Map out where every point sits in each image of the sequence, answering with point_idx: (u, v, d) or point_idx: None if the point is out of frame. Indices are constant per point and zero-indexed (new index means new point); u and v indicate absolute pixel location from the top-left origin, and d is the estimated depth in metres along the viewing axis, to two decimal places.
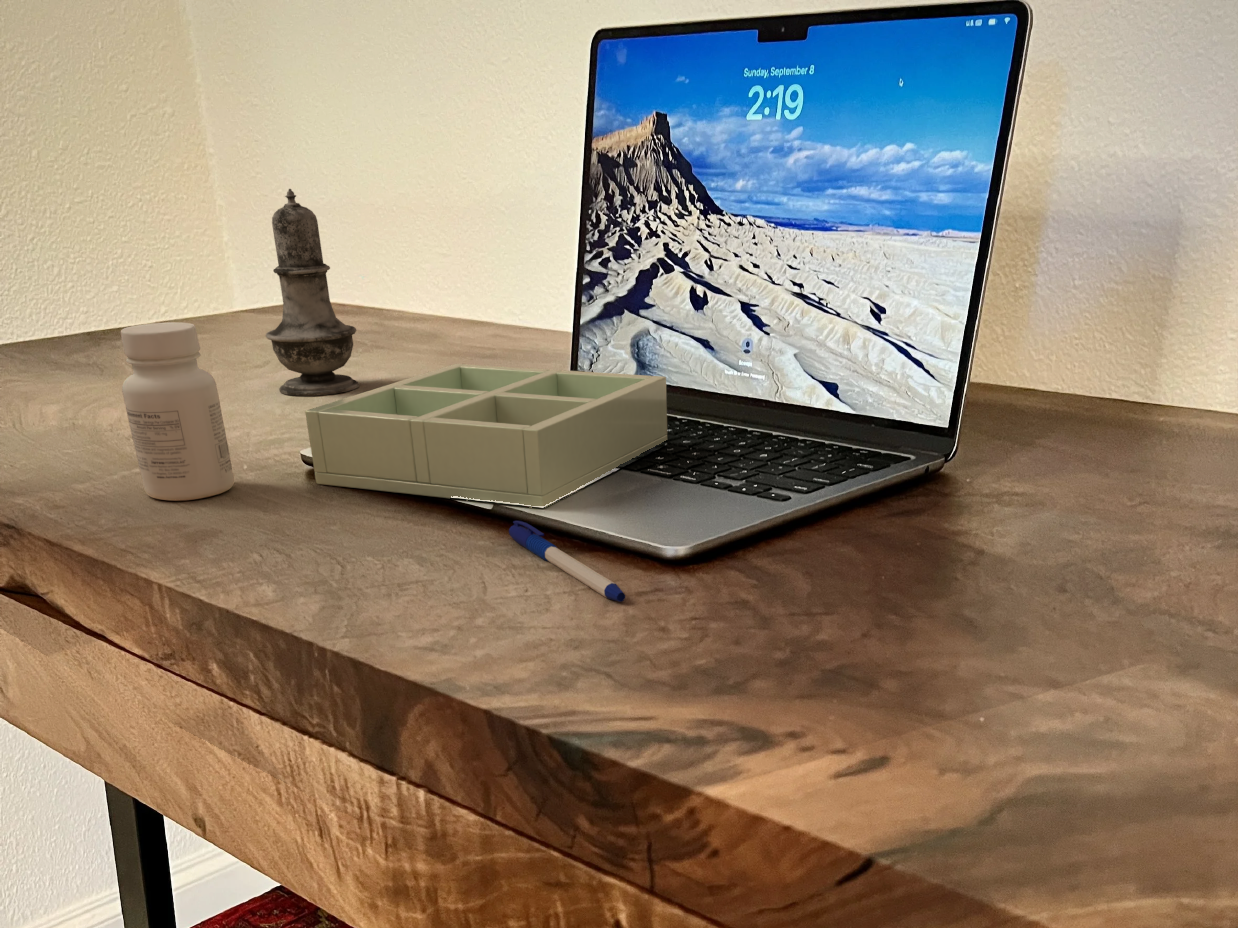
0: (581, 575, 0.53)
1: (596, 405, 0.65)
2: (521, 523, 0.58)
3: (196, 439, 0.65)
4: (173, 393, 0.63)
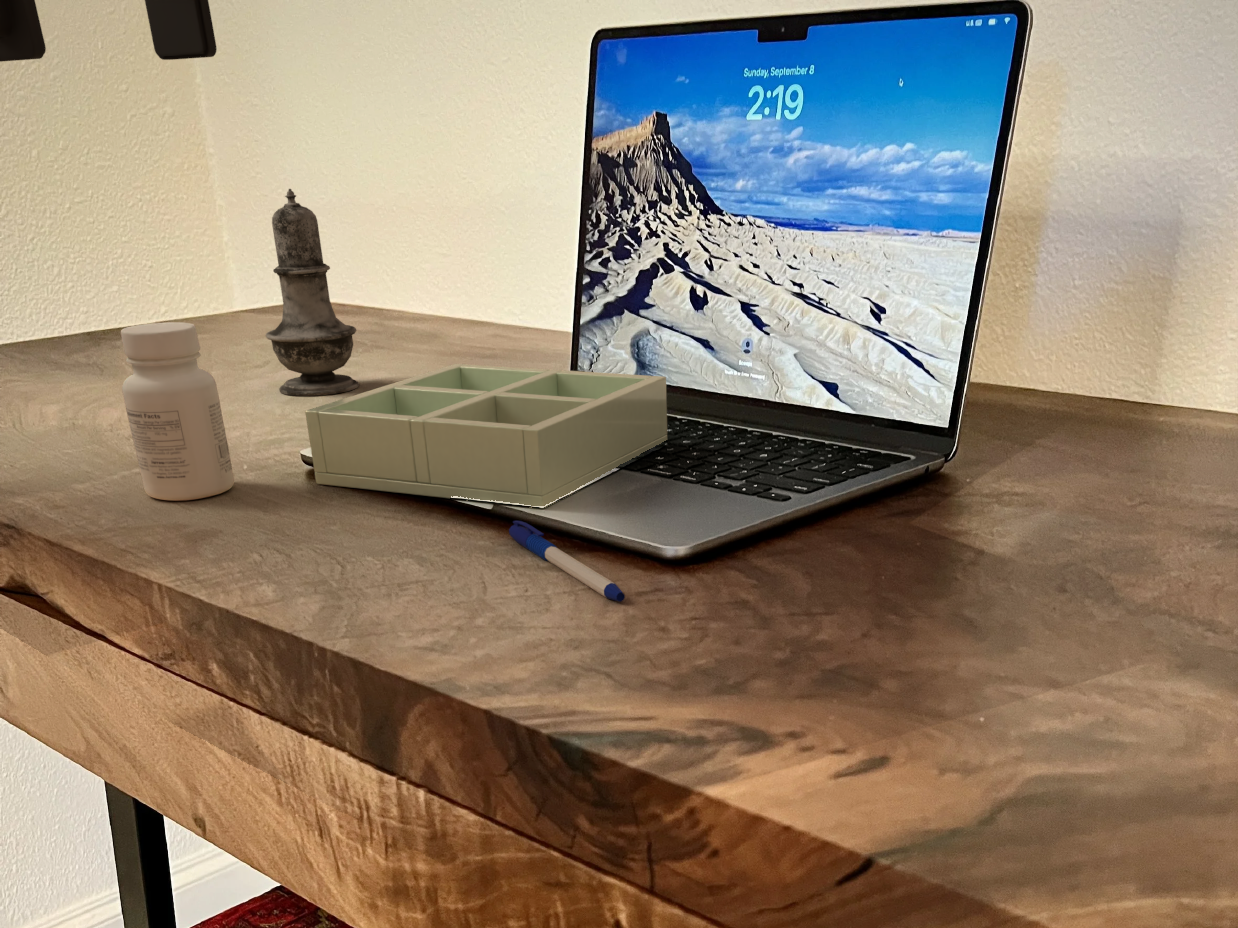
0: (581, 575, 0.53)
1: (596, 405, 0.65)
2: (521, 523, 0.58)
3: (196, 439, 0.65)
4: (173, 393, 0.63)
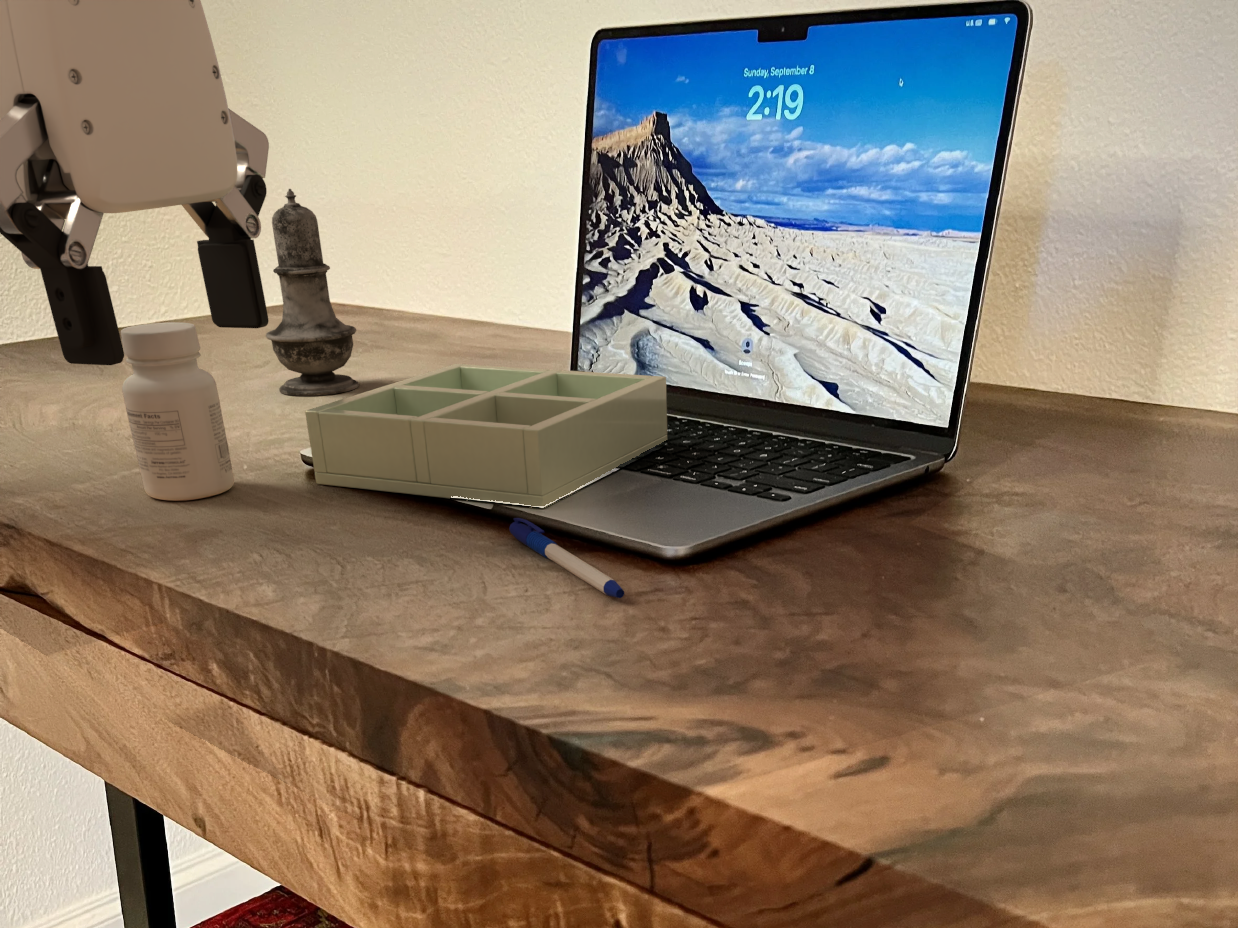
0: (580, 571, 0.53)
1: (596, 405, 0.65)
2: (521, 520, 0.58)
3: (196, 439, 0.65)
4: (173, 393, 0.63)
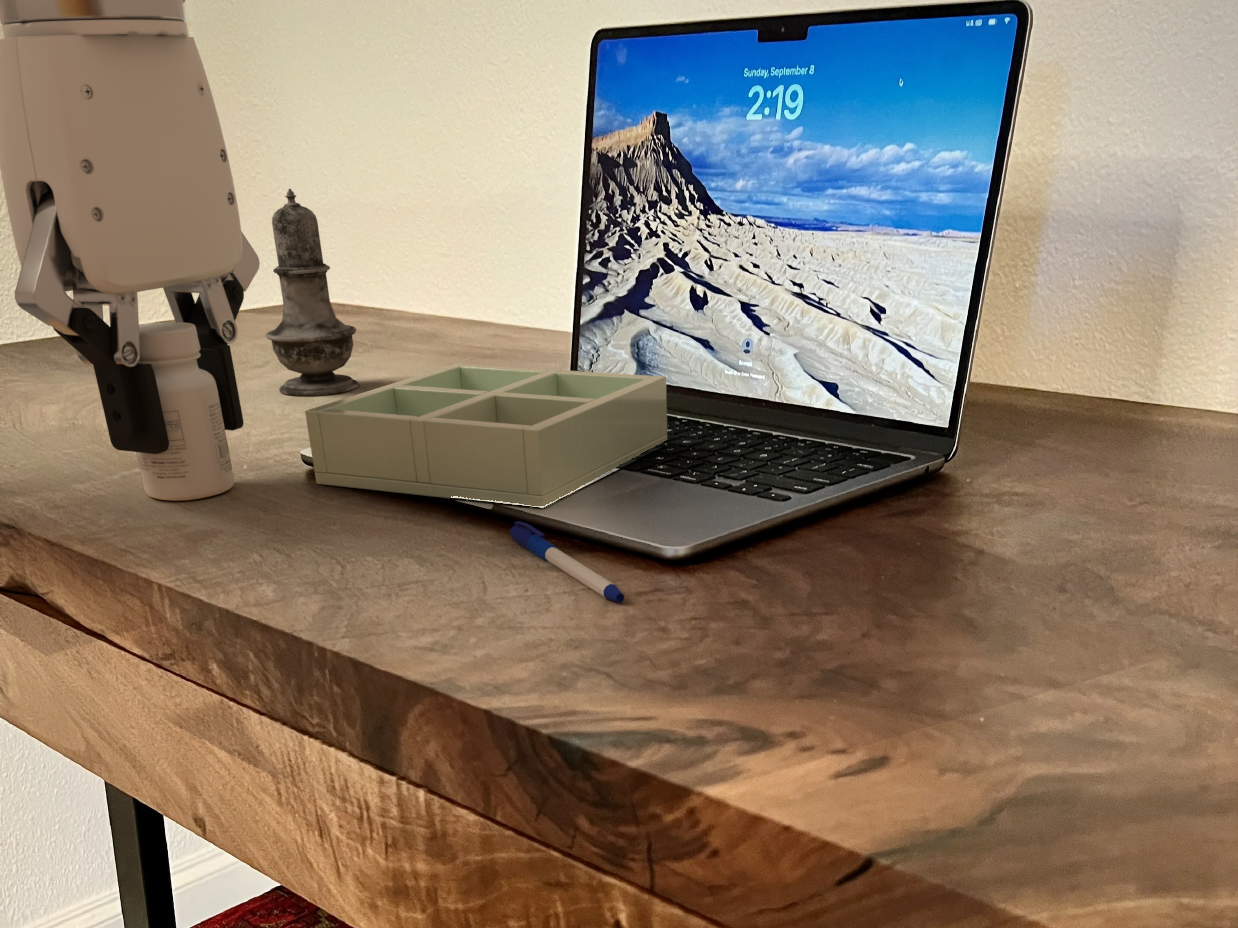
0: (581, 575, 0.53)
1: (596, 405, 0.65)
2: (522, 524, 0.58)
3: (196, 439, 0.65)
4: (173, 393, 0.63)
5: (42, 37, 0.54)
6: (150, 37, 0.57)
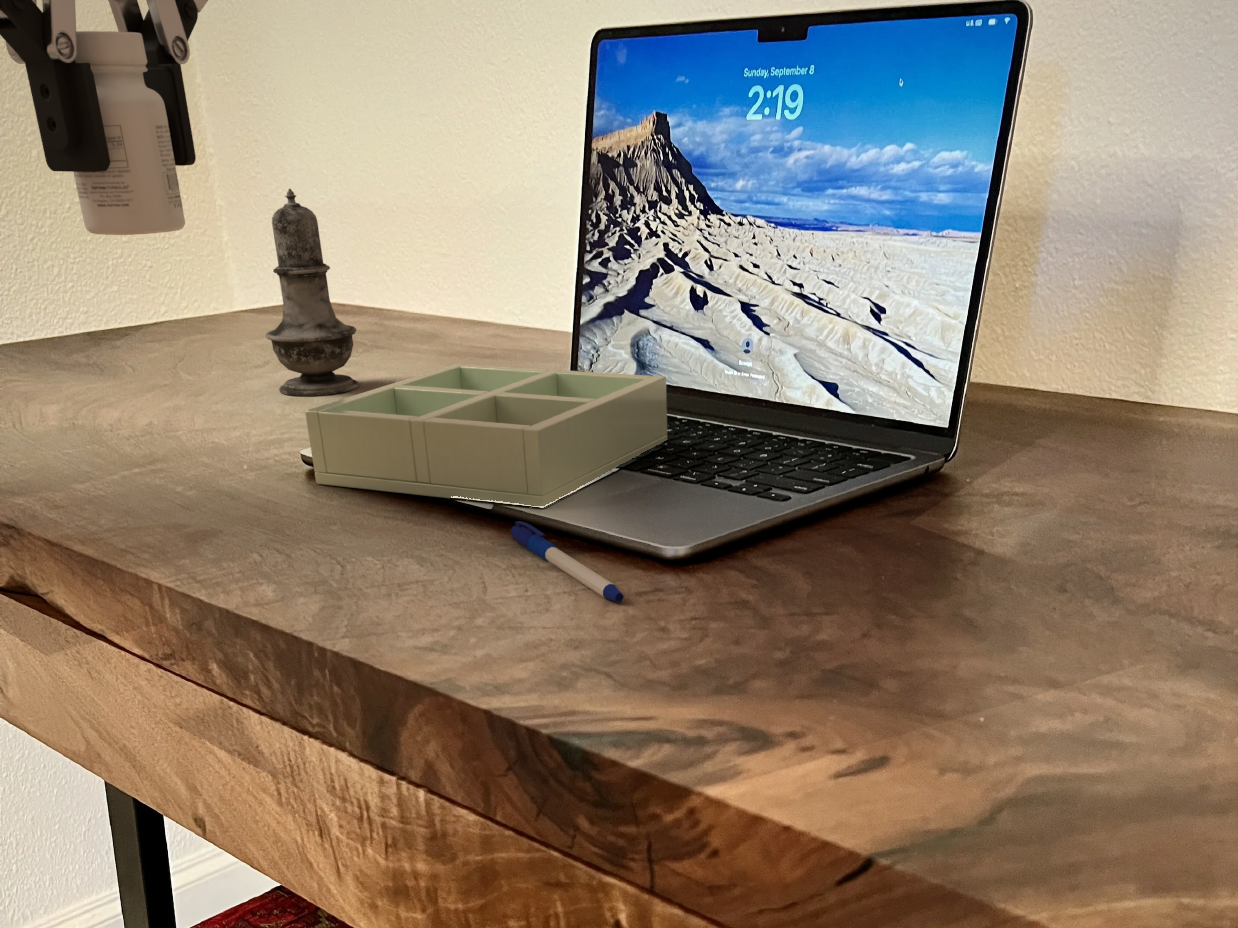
0: (580, 575, 0.53)
1: (596, 405, 0.65)
2: (522, 523, 0.58)
3: (141, 161, 0.58)
4: (115, 104, 0.57)
5: None
6: None
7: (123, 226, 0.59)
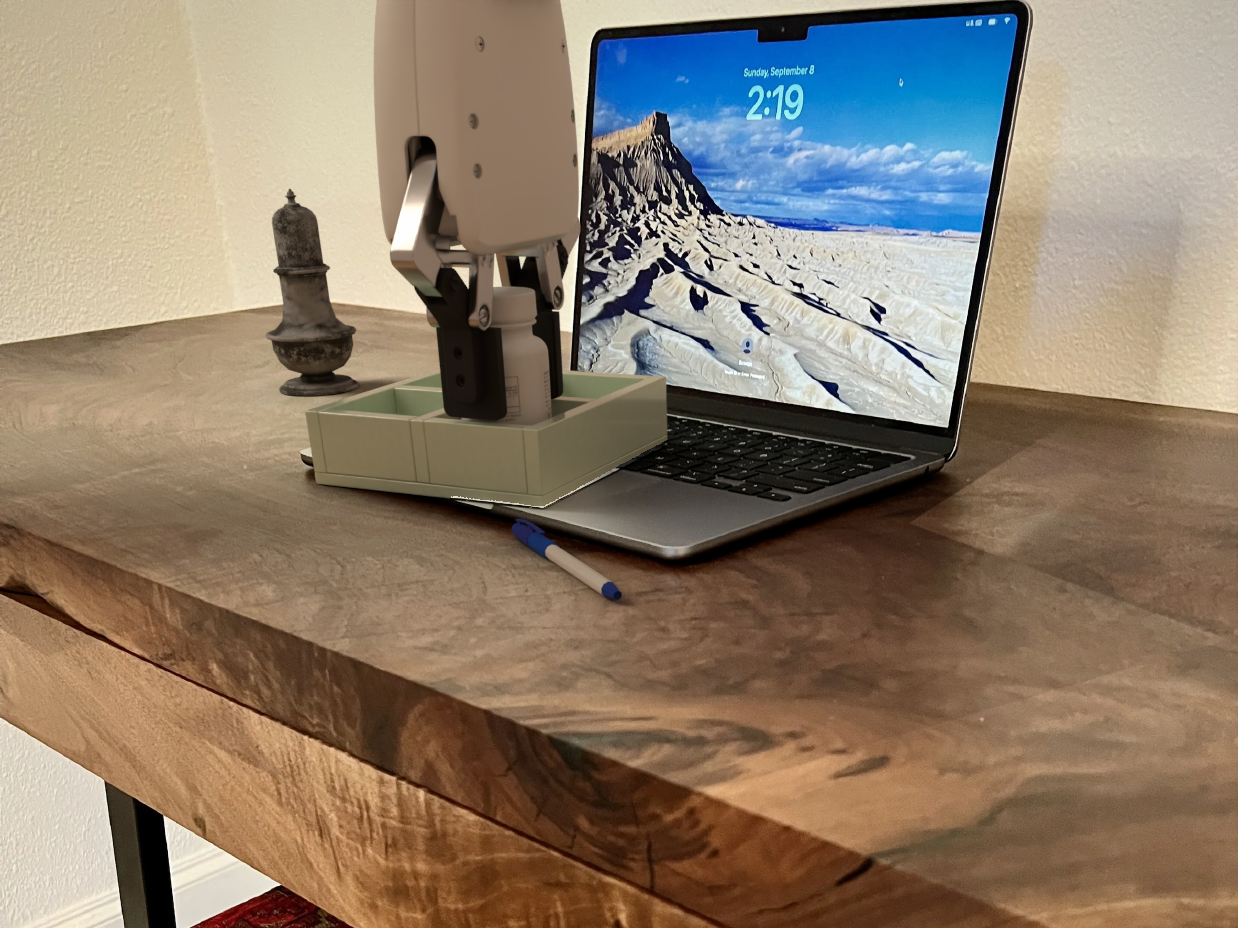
0: (579, 573, 0.53)
1: (596, 405, 0.65)
2: (523, 521, 0.58)
3: (530, 405, 0.63)
4: (515, 358, 0.62)
5: None
6: None
7: None
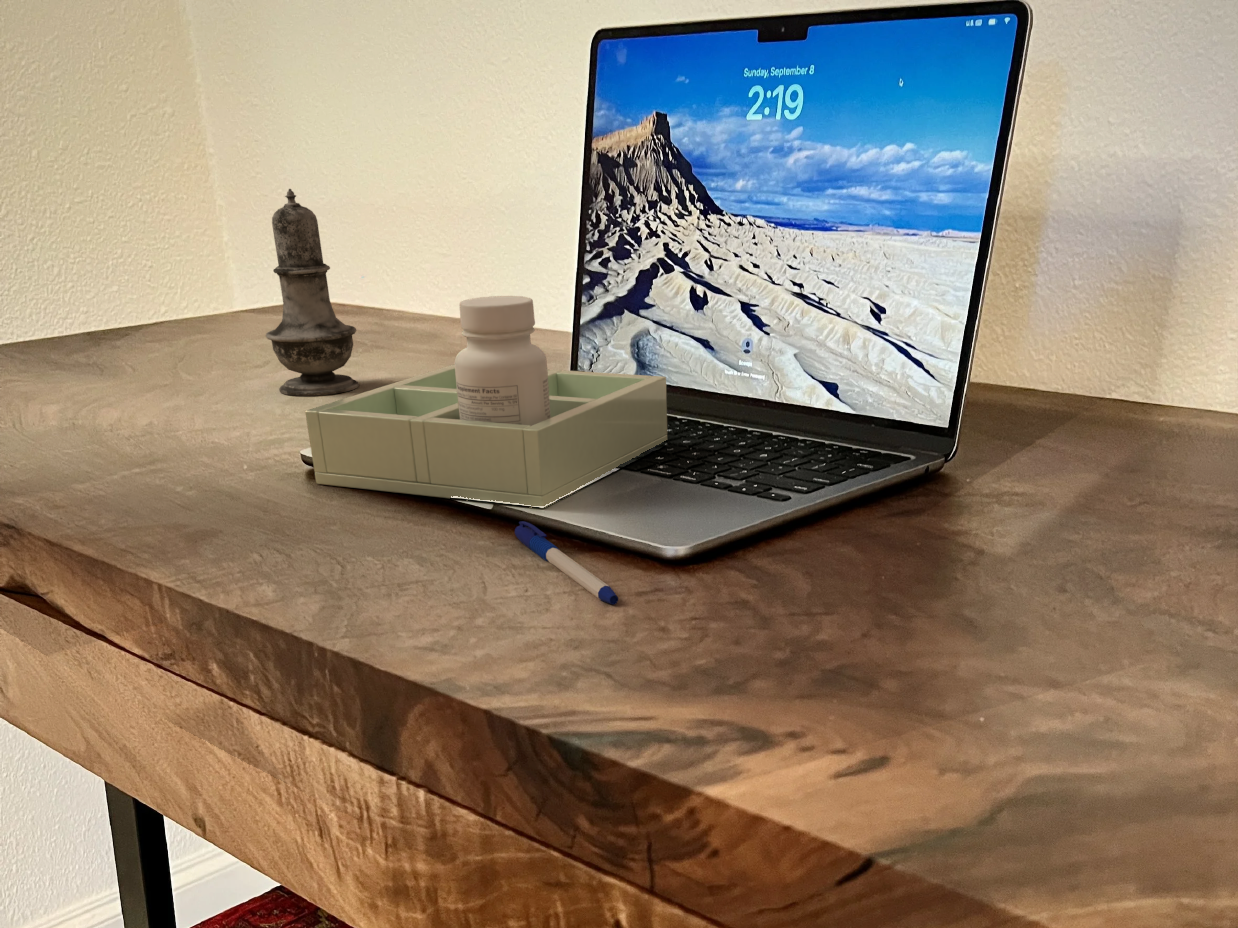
0: (578, 577, 0.53)
1: (596, 405, 0.65)
2: (526, 524, 0.58)
3: (530, 414, 0.63)
4: (514, 367, 0.62)
5: None
6: None
7: None
